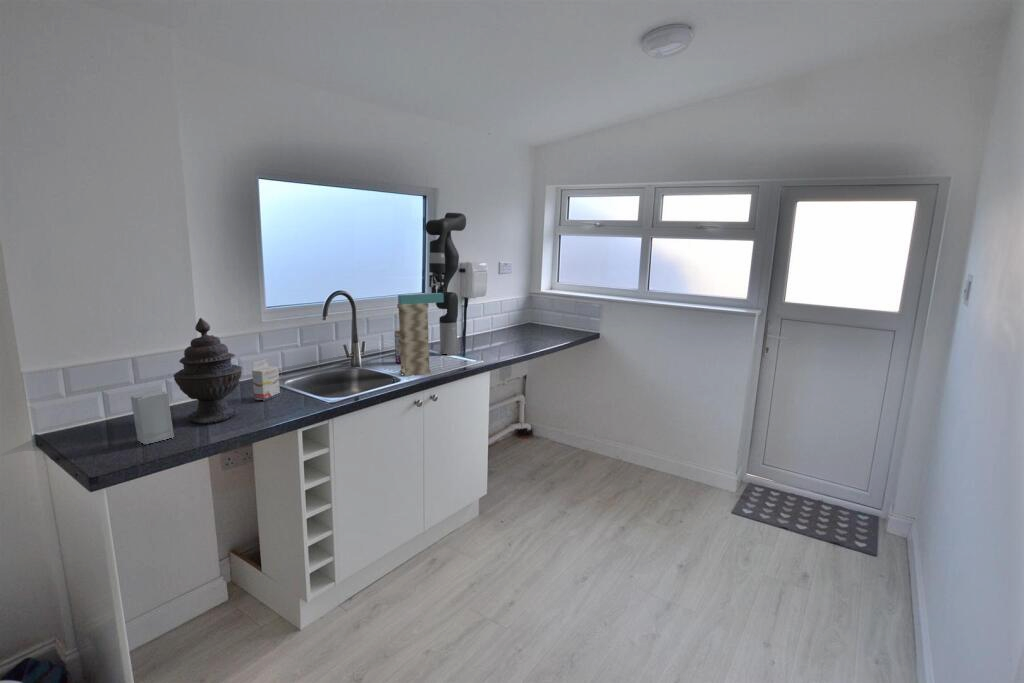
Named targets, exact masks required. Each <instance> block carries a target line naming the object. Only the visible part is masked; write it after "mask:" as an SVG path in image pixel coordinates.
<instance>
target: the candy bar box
mask: <svg viewBox="0 0 1024 683" xmlns="http://www.w3.org/2000/svg"><path fill="white" fill-rule="evenodd" d="M394 353H395V355H394V356H395V363H396V362H401V354H400V330H399V328H398V329H396V330H394Z"/></svg>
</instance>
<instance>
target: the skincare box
mask: <svg viewBox="0 0 1024 683" xmlns="http://www.w3.org/2000/svg"><path fill="white" fill-rule="evenodd" d="M130 400H131V407H132V413H133V420H134V425H135V426H134V427H135V431H136V439H137V441H140V442H141V443H143V444H149V443H154V442H158V441H161V440H165V441H167V440H166V439H169V438H172V439H174V438H175V435H174V427H173V421H172V414H171V413H172V412H171V408H170V400H169V393H168V392H166V391H164V390H162V389H156V390H152V391H148V392H143V393H137V394H133V395H130ZM173 437H174V438H173ZM169 440H170V439H169ZM161 442H162V441H161ZM141 443H140V444H141ZM158 443H159V442H158ZM154 444H155V443H154Z"/></svg>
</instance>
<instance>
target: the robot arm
mask: <svg viewBox="0 0 1024 683" xmlns="http://www.w3.org/2000/svg"><path fill="white" fill-rule="evenodd" d="M466 224H467V217H466V215H465V214H464V213H461V212H446V214H445V215H444V217H442V218H439V219H429V220H428V221H427V222H426V224H425V231H426V233H427V234H428V235H429V236H438V237H437V239H434V240H433V239H432V240H430V241H429V257H428V262H429V263H428V265H429V266H428V267H429V270H428V272H429V273H431V274H428V276H429V277H428V278H429V281H428V282H429V283H428V284H429V285H428V287H429V288H430V289H431V290H430V293H443V295H444V302H441V303H435V305H436V307H437V309H439V310H446V313H445V314H444V315H441V316H439V320H438V321H439V346H440V347H439V351H440V353H441V354H447V355H446V356H455V355H458V354H460V340H459V339H460V338H459V335H458V315H459V297H458V295H457V293H456V292H453V291H448V288H449V284H450V281H451V280H452V279H453V277H454V276H455V274H456V273H457V270H458V269H459V268H458V267H459V258H460V255H459V252H458V250H457V248H456V246H455V244H454V242H453V239H452V232H453V231H456V232H459V231H460V232H461V231H464V230H465V229H466V226H467V225H466ZM441 354H440V355H441Z"/></svg>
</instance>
